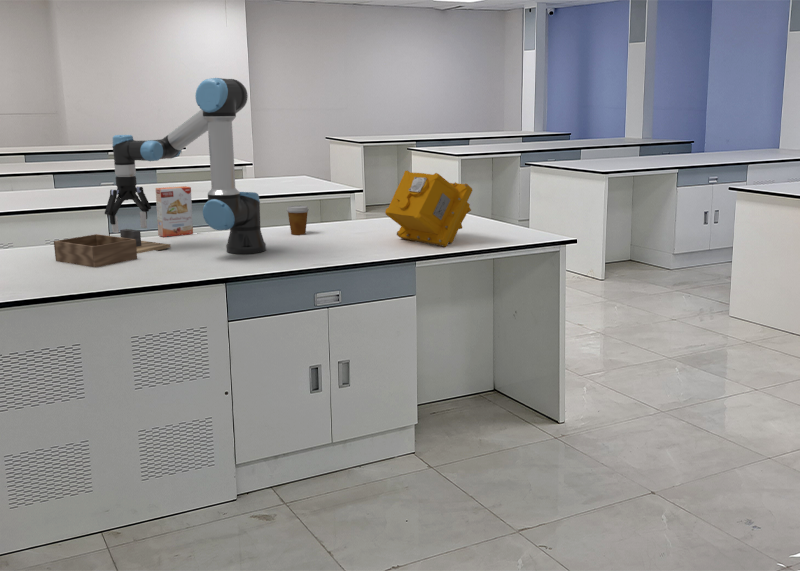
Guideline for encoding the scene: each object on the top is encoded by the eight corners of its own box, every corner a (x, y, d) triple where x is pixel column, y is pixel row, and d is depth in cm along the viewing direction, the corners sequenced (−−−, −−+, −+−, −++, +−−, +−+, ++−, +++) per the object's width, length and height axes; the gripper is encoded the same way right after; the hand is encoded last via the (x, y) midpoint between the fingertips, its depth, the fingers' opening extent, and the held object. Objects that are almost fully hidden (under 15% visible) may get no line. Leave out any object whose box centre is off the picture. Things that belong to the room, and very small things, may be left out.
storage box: (137, 260, 284) (135, 239, 282) (95, 269, 269) (93, 246, 267) (98, 255, 295) (96, 234, 293) (55, 263, 280) (53, 241, 279)
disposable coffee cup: (313, 233, 344) (312, 206, 341) (299, 236, 336) (299, 208, 333) (297, 231, 349) (296, 204, 346) (283, 234, 341) (282, 207, 338)
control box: (458, 257, 316) (413, 222, 297) (413, 248, 336) (368, 215, 317) (485, 198, 321) (442, 160, 301) (439, 193, 341) (396, 157, 321)
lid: (170, 249, 308) (169, 229, 306) (132, 257, 292) (130, 236, 290) (131, 244, 320) (129, 224, 318) (92, 251, 304) (90, 231, 302)
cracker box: (163, 237, 334) (160, 188, 329) (158, 235, 338) (154, 187, 333) (194, 234, 342) (191, 186, 338) (188, 232, 347) (185, 185, 342)
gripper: (144, 172, 312) (148, 225, 316) (91, 177, 291) (96, 233, 296) (157, 173, 308) (161, 226, 313) (104, 178, 287) (109, 235, 292)
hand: (130, 230), depth 304 cm, fingers open, 13 cm apart
